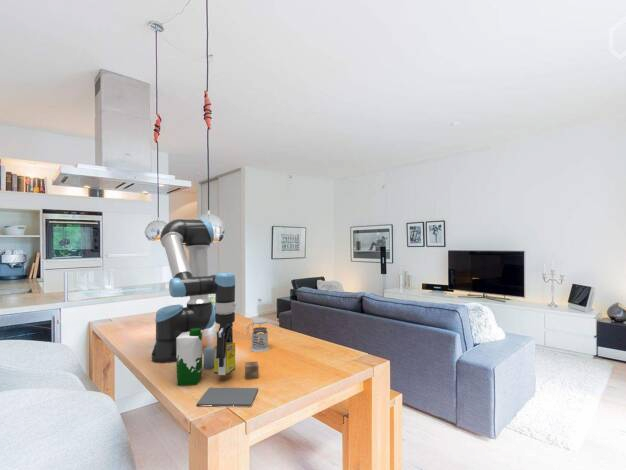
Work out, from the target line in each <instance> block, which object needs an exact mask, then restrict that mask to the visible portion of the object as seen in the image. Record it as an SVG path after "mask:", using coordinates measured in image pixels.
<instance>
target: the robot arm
mask: <svg viewBox="0 0 626 470" xmlns="http://www.w3.org/2000/svg"><path fill="white" fill-rule="evenodd" d="M159 237H160V238H159V239H160V244H161V246H162V247H163V248H164V250H165V255H166V258H167V261H168V265H169V269H170V272H171V277H172V278H171V279H169V283H168V292H169V295H170V296H171V298H186V297H189V300H188V301H187V302H186V306H185V307H184V306H183V304H173V305H172V304H171V305H168V306H164V307H160V308H159V309H157V311H156V313H155V319H154V320H155V343H154V345H153V349H152V353H151V355H150V356H151V359H152V360H151V362H153V361H154V363H158V362H160V363H161V364H164V363H166V362H167V363H173V362H177V342H176V338H177V337H178V336H179V335H180V334H181V333H184V332H190V329H192V328H201V331H205V330H208V329H211V328H212V327H213V326H214V324H218V325H219V327H218V331H216V345H217V350H216V358H218V374H217V375H219V376H222V375H223V376H226V375H225V374H226V357H225V350H226V342H231V343H234V342H233V340H234V339H233V338H234V337H233V327H234V324H233V323H234V322H235V321H236V313H235V311H236V309H235V308H236V306H237V303H235V301H236V275H235V273H233V272H217V273H216V274H210V275H208V273H209V272H208V271H209V269H208V249H209V248H210V247H211V244H212V243H214V238H215V232H214V228H213V225H212V223H211V222H210V221H209V220H205V219H181V218H179V219H173V220H170V221H169V222H168V223H166V225H164V227H163V228H162V230H161V232H160V236H159ZM183 244H185V246H184V245H183ZM184 247H185V248H186V249H187V250H188V257H187V253H186V250H185V248H184ZM209 295H215V300H214V301H215V302H214V303H212V302H213V301H212V300H211V299H210V298H209ZM160 363H159V364H160Z"/></svg>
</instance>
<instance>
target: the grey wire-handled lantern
mask: <svg viewBox="0 0 626 470" xmlns="http://www.w3.org/2000/svg"><path fill="white" fill-rule="evenodd" d="M257 301H258V302H262V301H263V299H262V298H258V299H257ZM268 322H269V319H267V318H264V317H262V316H259V317H256V318H254V319H253V320H251V323H250V324H249V325H248V326H247V328H246V330H247V332H246V334H247V336H250V339H251V347H250V348H249V350H250V351H251V352H255V353H258V352H259V353H260V352H261V353H262V352H266V351H269V350H270V346H269V345H268V339H269V337H268V328H267V327H261V326H257V327H254V328H253V329H252V333H251V334H250V331H249V330H250V329H249V328H250V326H251V327H253V326H254V324H257V325H261V324H262V325H263V324H267V323H268Z"/></svg>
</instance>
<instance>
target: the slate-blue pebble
mask: <svg viewBox="0 0 626 470" xmlns="http://www.w3.org/2000/svg"><path fill="white" fill-rule="evenodd" d="M202 369H204V370H205V371H207V370H208V371H209V370H213V369H214V346H207V347H204V348H202Z"/></svg>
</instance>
